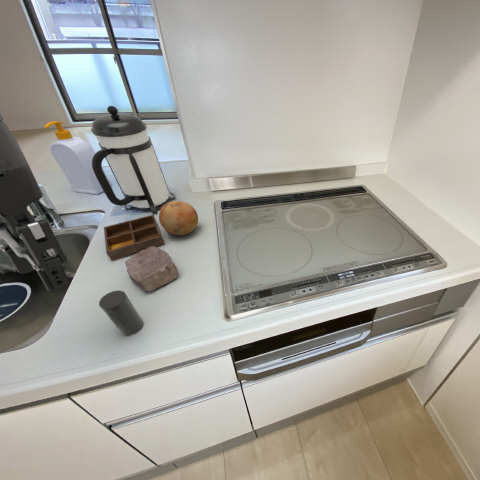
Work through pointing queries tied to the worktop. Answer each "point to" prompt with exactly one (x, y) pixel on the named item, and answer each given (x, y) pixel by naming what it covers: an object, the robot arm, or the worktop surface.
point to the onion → (178, 217)
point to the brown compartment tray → (132, 237)
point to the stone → (151, 268)
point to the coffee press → (128, 161)
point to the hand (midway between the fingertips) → (44, 279)
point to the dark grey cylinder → (121, 312)
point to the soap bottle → (75, 160)
